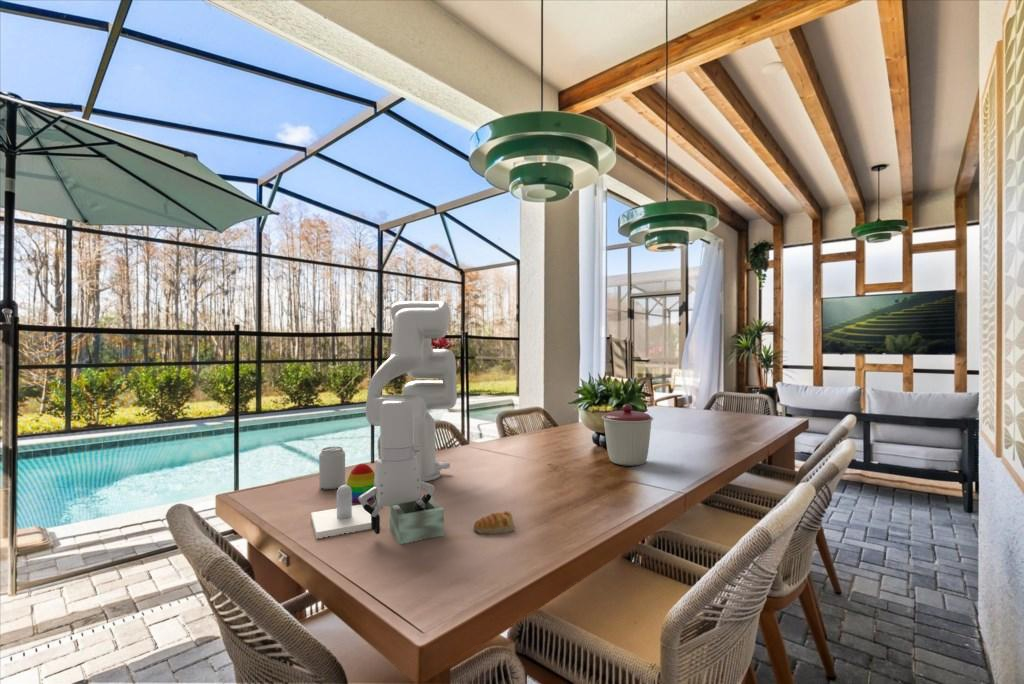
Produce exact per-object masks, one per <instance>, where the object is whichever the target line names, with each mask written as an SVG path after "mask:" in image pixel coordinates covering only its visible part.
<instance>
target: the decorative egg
mask: <svg viewBox="0 0 1024 684" xmlns="http://www.w3.org/2000/svg"><path fill="white" fill-rule="evenodd" d="M374 476H375V471H374V470H373V469H372V468H371V467H370V466H369V465H368V464H366V463H359V464H357V465H356V466H354V468H353V469H352V470H351V471H350V473H349V475H348V477H347V482H346V485H348V486H349V487H350V488H351V490H352V502H355V503H360V501H359V499H358V497H359V496H361V495H362V494H364V493H365V492H367V491H368V490H370V489H371V488H373V487H374ZM370 499H371V500H372V499H374V495H373V496H372V497H370V498H369V499H367V502H369V501H371V500H370ZM368 500H369V501H368Z"/></svg>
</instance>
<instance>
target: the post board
mask: <svg viewBox="0 0 1024 684" xmlns="http://www.w3.org/2000/svg"><path fill="white" fill-rule="evenodd" d="M336 490H337V491H336V508H331V509H325V510H320V511H312V512H310V516H311V517H310V519H311V523H312V527H313V530H314V534H315V539H316V540H318V538H319V539H323V537H325V538H329V537H328V536H330V537H335V536H339V535H340V534H341V535H345V534H344V533H346V534H351V533H356V531H357V532H361V531H367V530H372V528H371V514H369V513H368V512H367V511H366V510H364V508H363V506H362V505H361V504H356V505H353V503H352V502H353V501H352V490H351V488H350V487H349V486H348V485H347V484H344V485H342V486H340V487H339V488H338V489H336ZM350 532H351V533H350Z"/></svg>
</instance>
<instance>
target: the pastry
mask: <svg viewBox="0 0 1024 684" xmlns="http://www.w3.org/2000/svg"><path fill="white" fill-rule="evenodd" d="M515 528H516V527H515V522H514V519H513V515H512V513H511V512H510V511H506V510H505V511H503V512H492V513H490V514H489V515H487V516H485V517H482V518H480V519H478V520H476V521H475V522H474V524H473V530H474V531H475V532H476V533H478V534H481V535H484V534H487V535H489V534H490V535H496V534H505V533H510V532H513V531H514V530H515Z"/></svg>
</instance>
